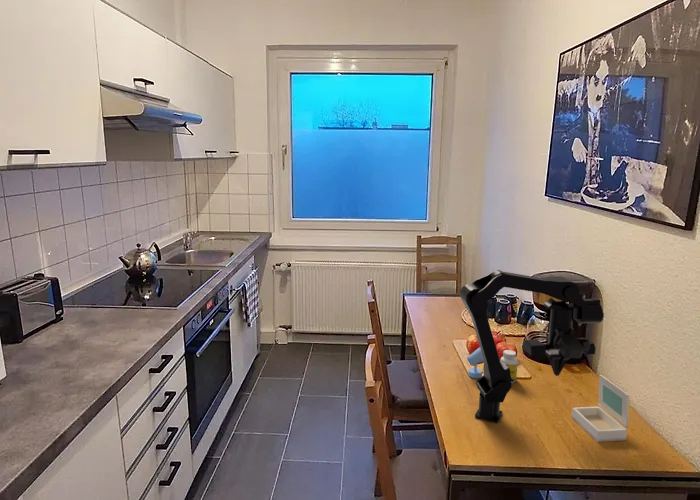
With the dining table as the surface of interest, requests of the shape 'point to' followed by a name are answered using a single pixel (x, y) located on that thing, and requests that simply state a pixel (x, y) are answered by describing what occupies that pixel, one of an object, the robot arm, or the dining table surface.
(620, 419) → the lid
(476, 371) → the spotlight
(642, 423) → the dining table surface
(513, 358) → the supplement bottle
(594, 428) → the box
